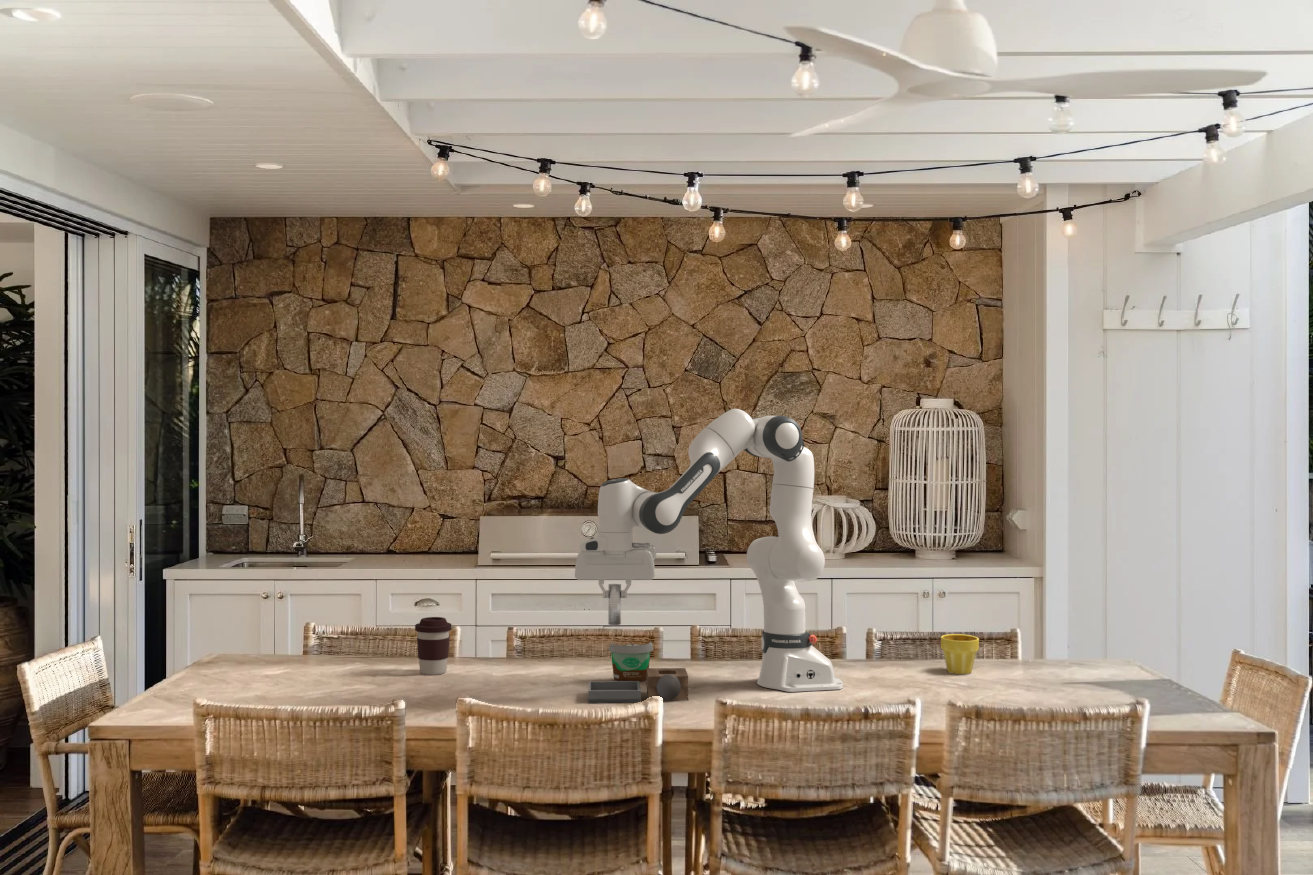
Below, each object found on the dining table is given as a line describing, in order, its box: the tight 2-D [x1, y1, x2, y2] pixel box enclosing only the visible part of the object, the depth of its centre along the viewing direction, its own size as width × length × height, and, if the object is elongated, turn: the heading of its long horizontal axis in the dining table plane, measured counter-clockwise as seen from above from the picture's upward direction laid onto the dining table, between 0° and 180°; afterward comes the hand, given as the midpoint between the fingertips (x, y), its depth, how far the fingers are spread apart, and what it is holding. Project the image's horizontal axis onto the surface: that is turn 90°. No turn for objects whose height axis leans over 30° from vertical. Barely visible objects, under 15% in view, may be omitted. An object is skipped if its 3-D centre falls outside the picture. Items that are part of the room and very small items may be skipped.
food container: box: [608, 640, 654, 683], centre depth 324 cm, size 12×6×10 cm, turn 105°
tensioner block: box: [646, 667, 689, 701], centre depth 305 cm, size 10×12×6 cm
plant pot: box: [940, 633, 980, 675], centre depth 338 cm, size 10×10×10 cm
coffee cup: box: [414, 616, 453, 676], centre depth 333 cm, size 10×10×15 cm
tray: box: [587, 680, 642, 704], centre depth 304 cm, size 13×11×3 cm
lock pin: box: [607, 583, 622, 626], centre depth 303 cm, size 3×3×10 cm
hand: (614, 597), depth 303 cm, fingers closed on lock pin, 3 cm apart
